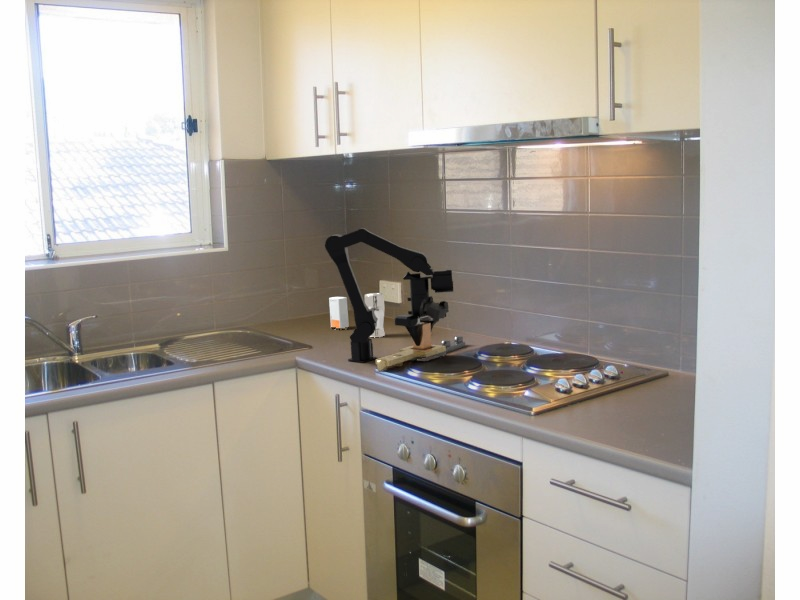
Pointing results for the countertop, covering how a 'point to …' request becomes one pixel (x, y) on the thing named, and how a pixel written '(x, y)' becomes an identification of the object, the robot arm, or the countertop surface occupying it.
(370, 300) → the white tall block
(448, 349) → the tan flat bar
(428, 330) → the reddish tan block
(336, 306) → the skincare box
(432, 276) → the robot arm
